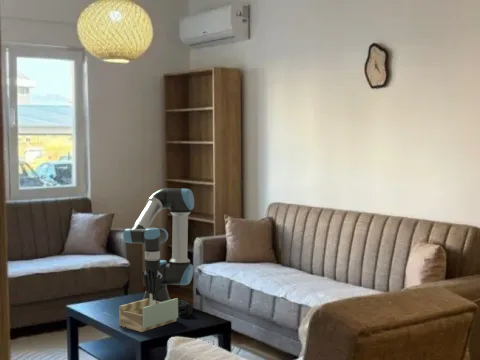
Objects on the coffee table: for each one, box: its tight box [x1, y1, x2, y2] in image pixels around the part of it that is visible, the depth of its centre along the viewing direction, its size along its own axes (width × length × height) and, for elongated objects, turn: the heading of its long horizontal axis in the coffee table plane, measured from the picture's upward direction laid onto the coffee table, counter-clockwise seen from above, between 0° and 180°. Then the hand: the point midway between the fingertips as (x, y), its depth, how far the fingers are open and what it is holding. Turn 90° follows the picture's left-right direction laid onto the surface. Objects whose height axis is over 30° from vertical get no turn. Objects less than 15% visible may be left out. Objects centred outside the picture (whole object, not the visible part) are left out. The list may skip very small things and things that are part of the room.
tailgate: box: [142, 297, 179, 328], centre depth 324 cm, size 24×1×10 cm, turn 142°
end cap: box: [178, 299, 194, 318], centre depth 346 cm, size 10×7×7 cm
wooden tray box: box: [118, 298, 178, 333], centre depth 329 cm, size 24×16×10 cm
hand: (152, 306), depth 327 cm, fingers closed
